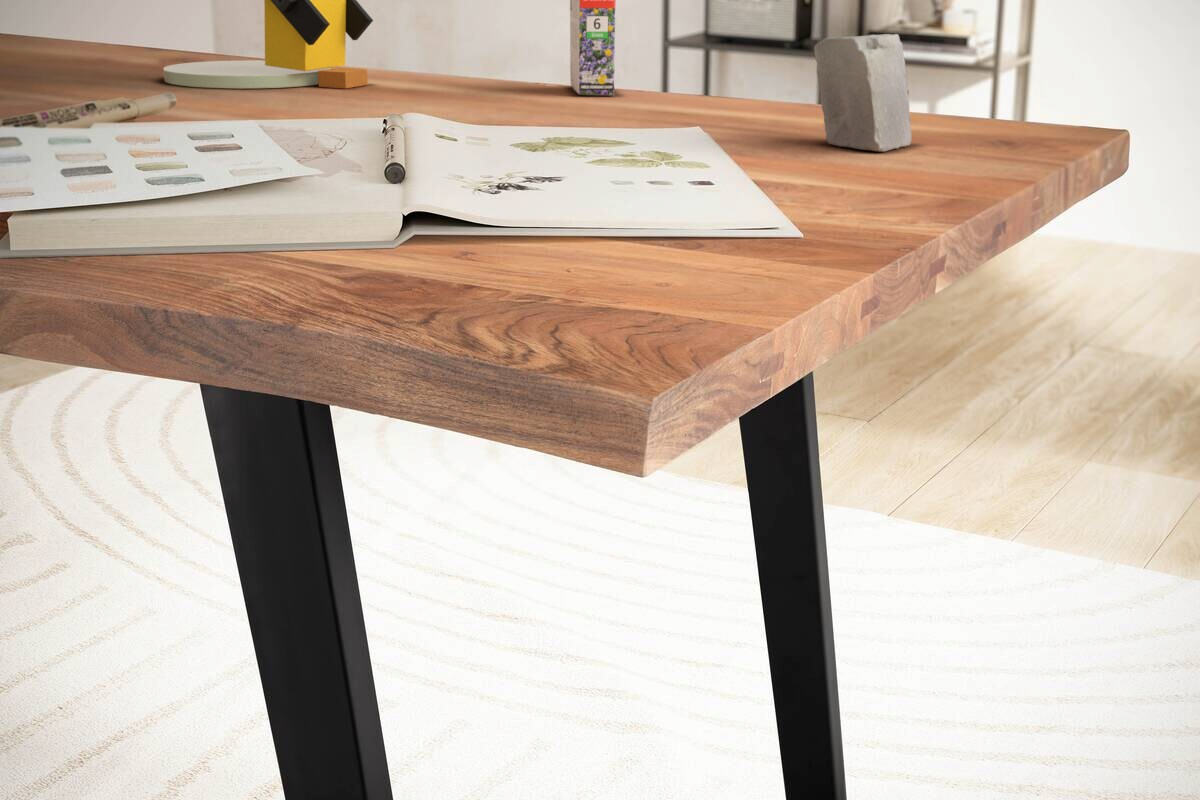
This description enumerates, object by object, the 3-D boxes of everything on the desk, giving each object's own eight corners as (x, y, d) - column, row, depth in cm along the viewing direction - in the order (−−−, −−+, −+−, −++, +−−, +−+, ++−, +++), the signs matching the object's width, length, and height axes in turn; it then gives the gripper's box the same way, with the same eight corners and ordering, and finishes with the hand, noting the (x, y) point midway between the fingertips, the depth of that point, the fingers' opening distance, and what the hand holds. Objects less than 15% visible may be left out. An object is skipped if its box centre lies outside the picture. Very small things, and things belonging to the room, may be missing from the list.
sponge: (264, 65, 121) (263, -58, 117) (306, 60, 127) (306, -57, 123) (305, 71, 119) (305, -54, 115) (345, 65, 125) (347, -53, 122)
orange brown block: (318, 86, 121) (317, 70, 121) (340, 83, 125) (340, 67, 124) (346, 88, 120) (345, 72, 120) (367, 84, 124) (367, 68, 123)
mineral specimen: (924, 129, 95) (933, 21, 91) (890, 170, 89) (898, 55, 85) (829, 118, 98) (834, 13, 94) (789, 157, 92) (793, 45, 88)
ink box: (605, 87, 126) (608, -71, 121) (616, 96, 118) (619, -72, 114) (568, 87, 125) (569, -72, 120) (576, 96, 118) (578, -73, 113)
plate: (131, 84, 120) (130, 71, 119) (212, 70, 135) (211, 58, 134) (292, 91, 117) (291, 78, 117) (355, 75, 132) (355, 63, 132)
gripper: (228, -118, 131) (372, 53, 131) (90, -130, 114) (257, 68, 114) (268, -175, 128) (417, 0, 128) (132, -196, 110) (304, 8, 110)
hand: (341, 32), depth 121 cm, fingers closed on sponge, 7 cm apart
